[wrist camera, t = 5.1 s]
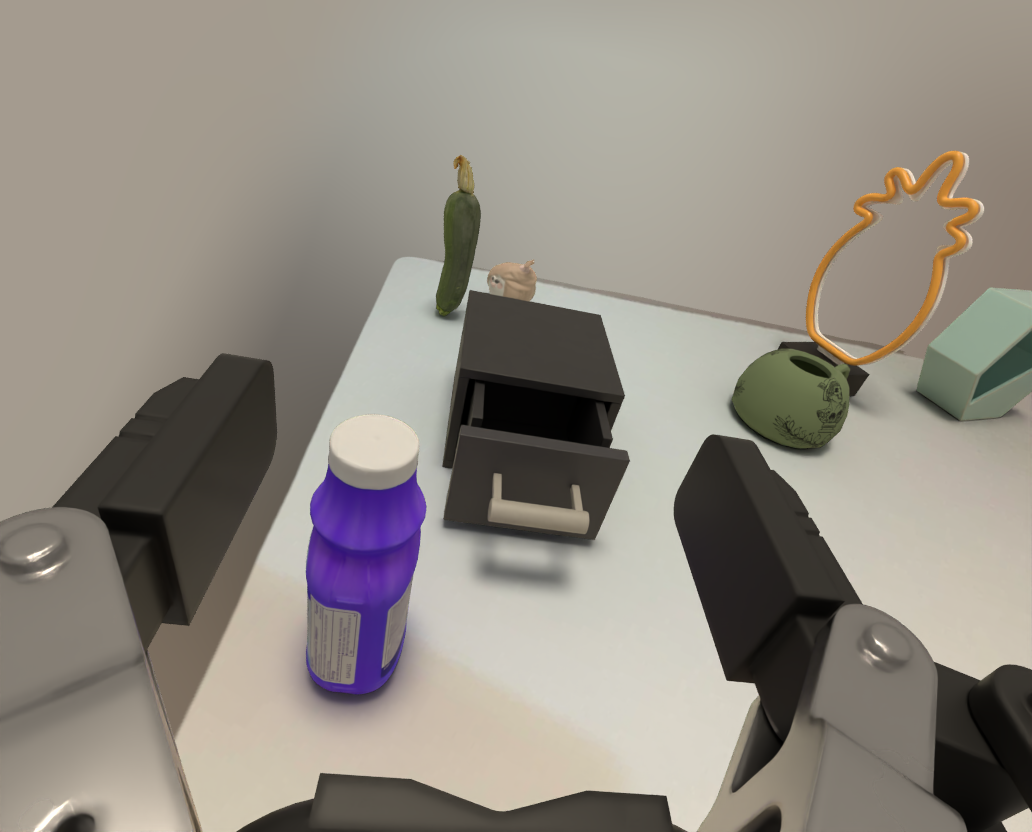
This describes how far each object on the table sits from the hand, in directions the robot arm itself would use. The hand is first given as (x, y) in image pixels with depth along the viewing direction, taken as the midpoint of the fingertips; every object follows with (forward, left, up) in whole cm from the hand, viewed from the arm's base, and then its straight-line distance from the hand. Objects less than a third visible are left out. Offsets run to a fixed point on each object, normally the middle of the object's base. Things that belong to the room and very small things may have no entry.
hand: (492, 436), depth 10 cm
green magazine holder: (+16, +96, -28) cm, 102 cm away
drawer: (-13, +25, -27) cm, 39 cm away
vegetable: (-41, +42, -28) cm, 65 cm away
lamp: (-2, +79, -28) cm, 84 cm away
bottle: (-11, +6, -28) cm, 31 cm away
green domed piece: (-1, +63, -28) cm, 69 cm away
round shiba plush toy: (-40, +53, -28) cm, 72 cm away
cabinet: (-20, +32, -28) cm, 47 cm away
